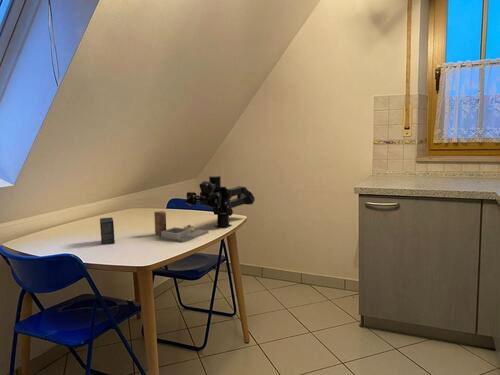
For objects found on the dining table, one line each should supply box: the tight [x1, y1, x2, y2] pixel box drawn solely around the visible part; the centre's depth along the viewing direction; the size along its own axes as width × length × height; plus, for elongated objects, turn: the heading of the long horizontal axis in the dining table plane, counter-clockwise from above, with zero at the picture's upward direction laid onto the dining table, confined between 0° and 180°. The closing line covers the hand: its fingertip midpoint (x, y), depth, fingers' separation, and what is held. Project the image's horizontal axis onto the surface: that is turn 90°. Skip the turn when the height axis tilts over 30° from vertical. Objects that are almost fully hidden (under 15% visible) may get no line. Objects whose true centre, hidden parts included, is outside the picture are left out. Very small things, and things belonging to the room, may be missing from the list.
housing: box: [158, 224, 209, 243], centre depth 197 cm, size 20×14×4 cm
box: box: [99, 216, 116, 246], centre depth 187 cm, size 8×6×11 cm
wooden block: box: [153, 210, 167, 237], centre depth 200 cm, size 4×4×11 cm
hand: (192, 202), depth 192 cm, fingers open, 9 cm apart
